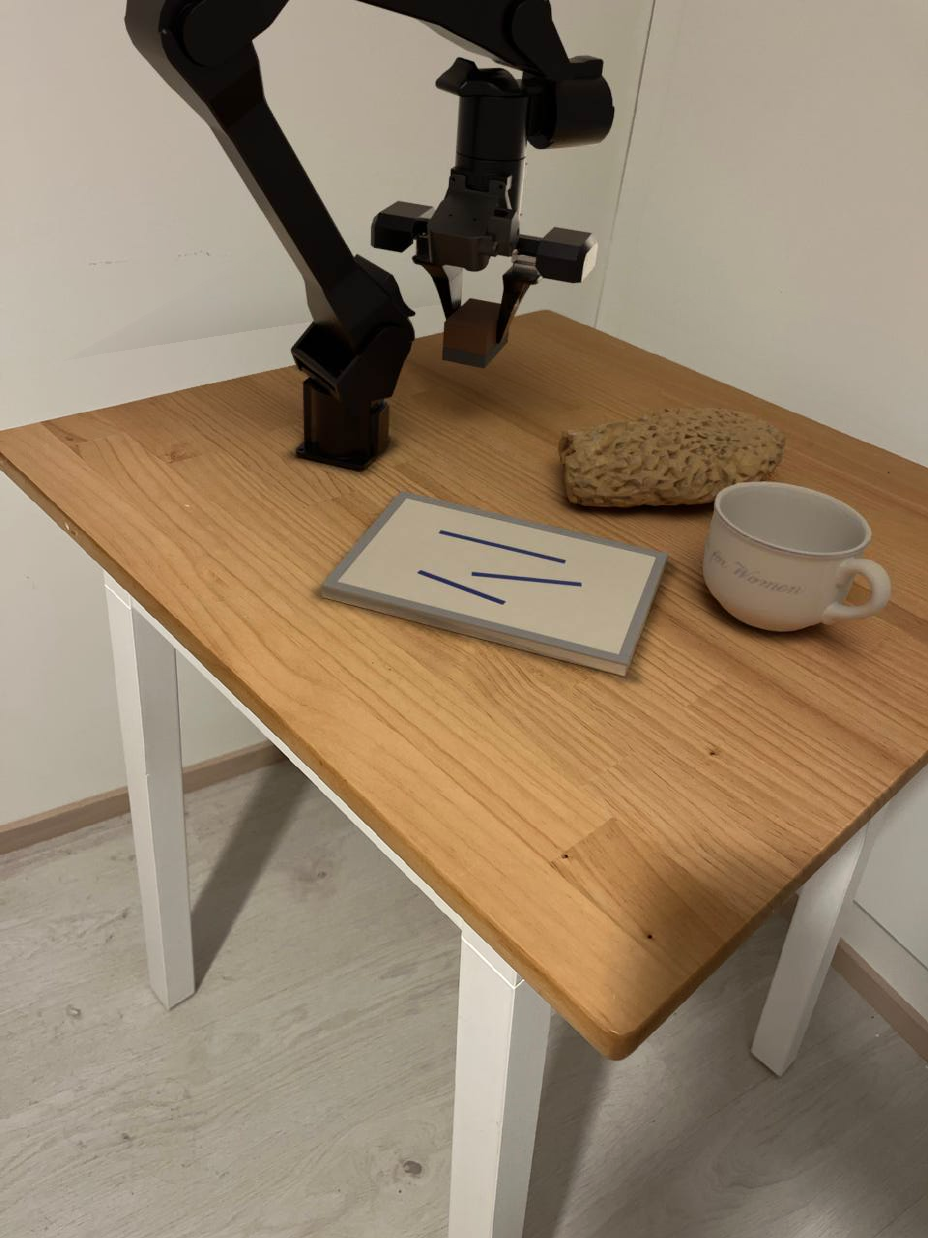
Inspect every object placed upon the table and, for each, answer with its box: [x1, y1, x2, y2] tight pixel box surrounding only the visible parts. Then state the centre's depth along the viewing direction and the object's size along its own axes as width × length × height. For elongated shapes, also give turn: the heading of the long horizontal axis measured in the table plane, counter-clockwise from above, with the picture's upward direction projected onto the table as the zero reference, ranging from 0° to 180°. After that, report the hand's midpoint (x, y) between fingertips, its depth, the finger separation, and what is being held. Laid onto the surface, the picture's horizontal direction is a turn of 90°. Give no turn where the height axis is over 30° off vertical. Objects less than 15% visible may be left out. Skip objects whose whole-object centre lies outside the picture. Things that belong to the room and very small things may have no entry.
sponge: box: [557, 406, 787, 508], centre depth 91 cm, size 13×8×20 cm
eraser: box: [441, 297, 510, 369], centre depth 96 cm, size 4×7×4 cm, turn 161°
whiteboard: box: [321, 490, 670, 678], centre depth 79 cm, size 22×15×1 cm
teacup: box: [702, 480, 892, 633], centre depth 75 cm, size 14×11×8 cm
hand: (476, 337), depth 96 cm, fingers closed on eraser, 4 cm apart
